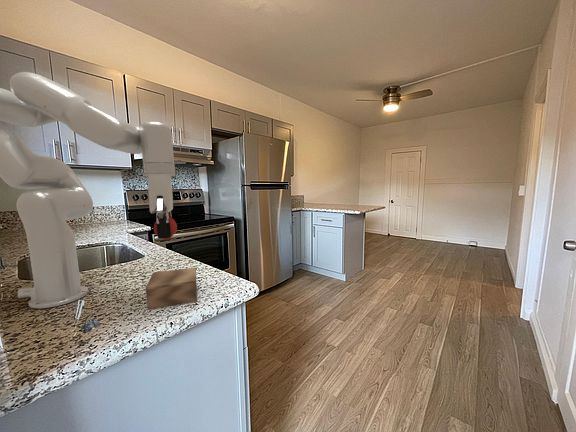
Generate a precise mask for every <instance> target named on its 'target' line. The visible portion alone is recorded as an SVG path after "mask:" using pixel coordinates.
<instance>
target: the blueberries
mask: <svg viewBox="0 0 576 432" xmlns="http://www.w3.org/2000/svg"><path fill="white" fill-rule="evenodd" d="M100 325H101V323H100V321H99V320H97V319H91V318H90V319H88V320H87V321H85V322H84V323H83V324H82V325H81V326H80V329H81V330H83V332H82V333H83V334H85V333H89V332H91V331H92V330H95V329H96V328H97V327H99V326H100ZM70 331H71V332H73V331H74V329H71V330H70Z"/></svg>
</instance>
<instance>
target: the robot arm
mask: <svg viewBox="0 0 576 432" xmlns="http://www.w3.org/2000/svg"><path fill="white" fill-rule="evenodd" d="M9 87H10V90H11V91H10V90H9V89H5V88H2V87H0V178H1V180H2V181H3V182H4V183H5V184H6V185H8V186H10V187H11V188H15V189H17V190H27V191H25V192H24V193H21V195H20V196H19V197H18V198H17V200H16V210H17V214H18V216H19V218H20V221H21V223H22V225H23V228H24V231H25V235H26V240H27V247H28V252H29V259H30V265H31V266H30V267H31V273H32V279H33V285H34V286H33V287H24V288H19V289H18V290H17V298H18V299H22V298H27V297H29V298H30V299H29V300H28V302H27V303H28V307H29V308H32V309H48V308H53V307H58V306H62V305H63V306H64V305H67V304H69V303H73V302H75V301H77V300H80V299H82V298H83V297H85V296H86V295H88V293H89V288H88V287H87V286H86V285H81V276H80V269H79V260H78V251H77V244H76V238H75V234H74V231H73V229H72V228H71V227H70V225H69V224H68V223H67V221H70V220H76V219H81V218H84V217H87V216H88V215H89V214H91V212H93V211H92V210H93V209H94V203H93V202H94V201H93V199H92V196H91V195H90V193H89V192H88V190H87V188H86V187H85V186H84V184H83V183H82V181H80V179H79V178H78V176H77V174H76V173H75V172H74V170H73V169H72V168H71V167H70V166H69V165H68V164H67V163H66V162H64V161H62V160H60V159H58V158H55V157H50V156H41V155H38V154H36V153H33V151H31V149H30V148H29V147H28V146H27V144H26V142H25V141H24V140H23V138H21V137H20V136H19V135H18V133H16V132H15V131H14V130H13V129H11V128H9V126H7V125H5V124H4V123H8V124H13V125H17V126H21V127H26V128H27V127H28V128H35V127H40V126H41V127H42V126H44V125H49V124H52V123H56V122H60V123H62V124H63V125H66V126H67V127H68V128H69V129H70V130H71V131H72V132H74V133H76V135H79V136H81V137H82V138H84V139H86V140H88V141H90V142H92V143H94V144H96V145H98V146H101V147H103V148H106V149H108V150H113V151H117V152H122V153H126V154H130V155H140V154H141V158H142V164H143V165H142V166H143V175H144V177H147V187H148V188H147V189H148V206H149V212H150V213H151V214H155V213H156V220H157V234H158V236H157V238H158V240H160V239H161V240H163V239H162V238H170V237H171V227H170V223H169V217H171V218H172V219H173V217H172V211H173V209H174V199H173V198H174V197H173V195H174V194H173V186H172V184H173V183H172V177H175V176H176V168H175V167H176V166H175V158H174V157H175V156H174V146H173V137H172V129H171V127H170V126H169V125H168V124H166V123H165V122H164V123H163V122H160V121H146V122H142V123H141V124H140V125H139V126H137V125H134V124H131V123H128V122H125V121H123V120H121V119H118V118H116V117H113V116H112V115H109V114H107V113H105V112H103V111H101V110H99V109H97V108H95V107H93V106H92V103H91V102H90V101H89V100H88V99H87V98H85V97H84V96H82V95H80V94H77V93H76V92H74V91H73V90H72V89H71V88H69V87H67V86H65V85H63V84H61V83H58V82H56V81H54V80H51V79H49V78H48V77H45V76H43V75H40V74H38V73H34V72H29V71H21V72H16V73H15V74H13V75H12V76H11V77H10V79H9ZM3 122H4V123H3ZM171 238H172V237H171ZM171 238H170V239H171Z"/></svg>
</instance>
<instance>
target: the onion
mask: <svg viewBox="0 0 576 432" xmlns="http://www.w3.org/2000/svg"><path fill="white" fill-rule="evenodd" d="M169 223H170V227H171V237H170V238H162V239H161V240H164V241H165V242H166V241H169V240H170V239H171V238H172V237H173V236H174V235H175V234H176V233H177V231H178V223H177V222H176V220H175V219H174V218H173V217H172V218H171V217H169ZM153 231H154V234H155V235H156V236H157V237H158V234H157V219H156V221H154V225H153Z"/></svg>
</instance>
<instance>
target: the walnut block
mask: <svg viewBox="0 0 576 432" xmlns="http://www.w3.org/2000/svg"><path fill="white" fill-rule="evenodd" d="M197 285H198V284H197V268H196V266H195V267H188V268H180V269H171V270H162V271H154V272H152V274H151V276H150V278H149V280H148V282H147V284H146V285H145V295H146V296H145V297H146V307H147V310H149V311H150V310H154V309H159V308H167V307H172V306H179V305H184V304H191V303H196V302H197V300H198V292H197V291H198V289H197V288H198V286H197Z"/></svg>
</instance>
